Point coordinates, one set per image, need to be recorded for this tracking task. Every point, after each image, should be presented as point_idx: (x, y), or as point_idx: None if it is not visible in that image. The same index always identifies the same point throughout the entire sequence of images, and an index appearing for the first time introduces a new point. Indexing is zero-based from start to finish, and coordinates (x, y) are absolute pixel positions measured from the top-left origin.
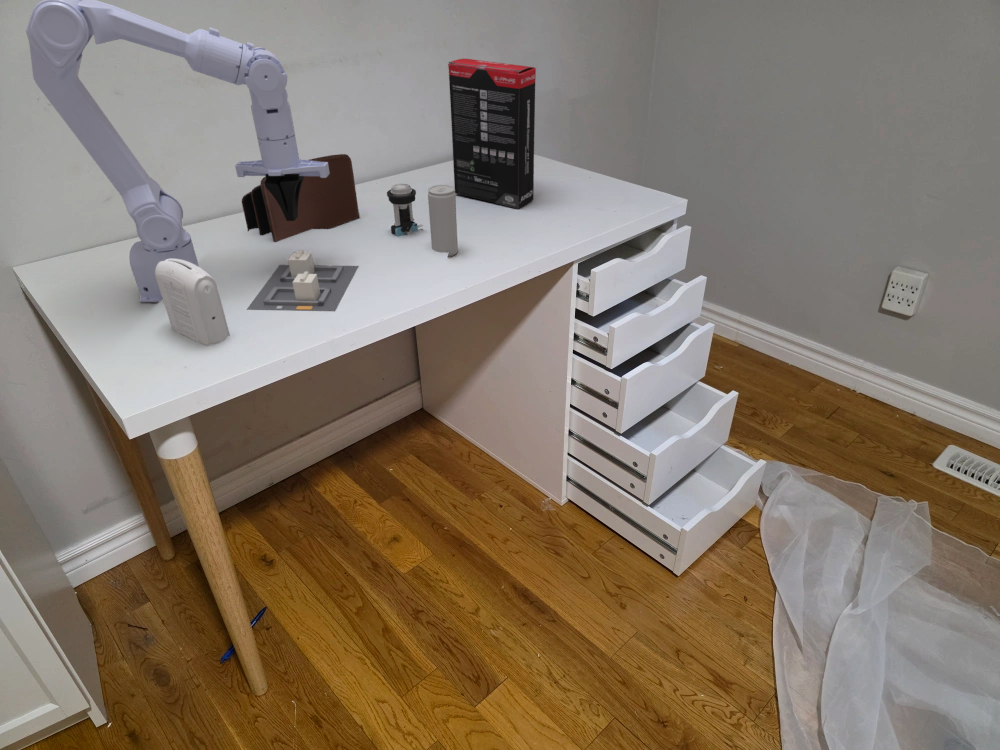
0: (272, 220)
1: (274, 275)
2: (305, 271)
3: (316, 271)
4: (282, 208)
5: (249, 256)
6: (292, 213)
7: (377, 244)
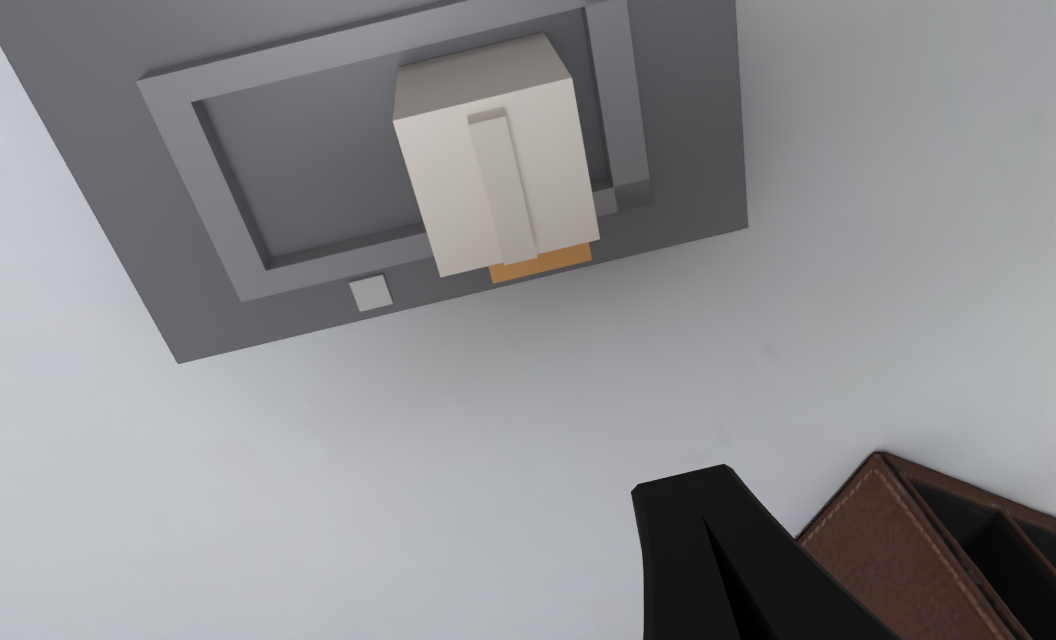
0: (966, 596)
1: (716, 56)
2: (418, 80)
3: None
4: (803, 577)
5: (1006, 323)
6: (649, 551)
7: (324, 627)
